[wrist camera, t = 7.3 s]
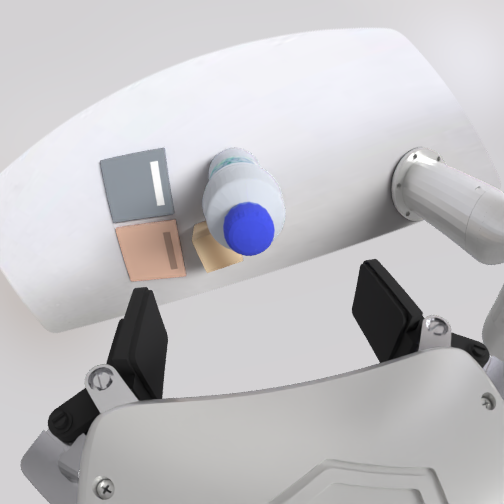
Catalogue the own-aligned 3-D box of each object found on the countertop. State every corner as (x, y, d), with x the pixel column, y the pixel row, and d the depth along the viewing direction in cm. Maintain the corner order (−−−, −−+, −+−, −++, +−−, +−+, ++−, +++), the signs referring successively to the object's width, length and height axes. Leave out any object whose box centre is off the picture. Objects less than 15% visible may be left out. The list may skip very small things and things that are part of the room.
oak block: (228, 212, 38) (230, 227, 33) (240, 243, 40) (243, 260, 36) (194, 224, 38) (191, 241, 33) (207, 254, 40) (206, 272, 36)
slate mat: (164, 147, 32) (163, 148, 31) (174, 212, 36) (173, 214, 36) (101, 160, 31) (99, 161, 31) (114, 221, 36) (113, 222, 35)
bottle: (236, 203, 37) (255, 297, 20) (196, 172, 34) (176, 245, 17) (270, 166, 35) (324, 231, 18) (231, 133, 32) (248, 162, 15)
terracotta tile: (175, 219, 37) (174, 221, 36) (186, 273, 41) (186, 276, 41) (116, 227, 36) (115, 229, 36) (132, 279, 41) (131, 281, 40)
